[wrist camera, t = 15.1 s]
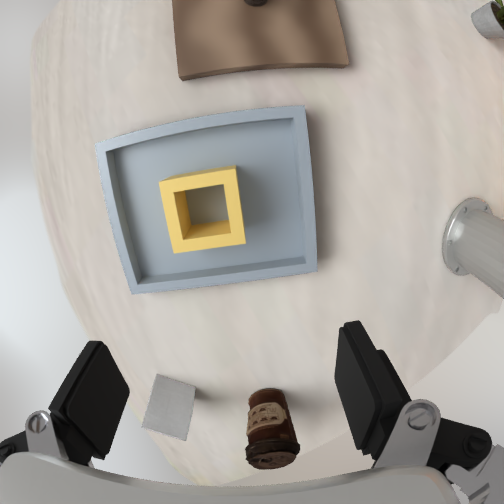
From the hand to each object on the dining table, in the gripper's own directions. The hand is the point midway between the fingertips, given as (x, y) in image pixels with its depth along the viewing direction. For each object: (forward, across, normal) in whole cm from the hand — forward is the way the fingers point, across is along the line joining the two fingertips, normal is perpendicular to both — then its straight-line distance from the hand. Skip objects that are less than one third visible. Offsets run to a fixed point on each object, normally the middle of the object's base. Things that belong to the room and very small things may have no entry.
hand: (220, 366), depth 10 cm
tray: (+23, +3, -2) cm, 23 cm away
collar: (+22, +3, -2) cm, 22 cm away
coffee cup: (+23, -1, +32) cm, 39 cm away
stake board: (+23, -5, -25) cm, 34 cm away
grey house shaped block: (+23, +14, +27) cm, 38 cm away
